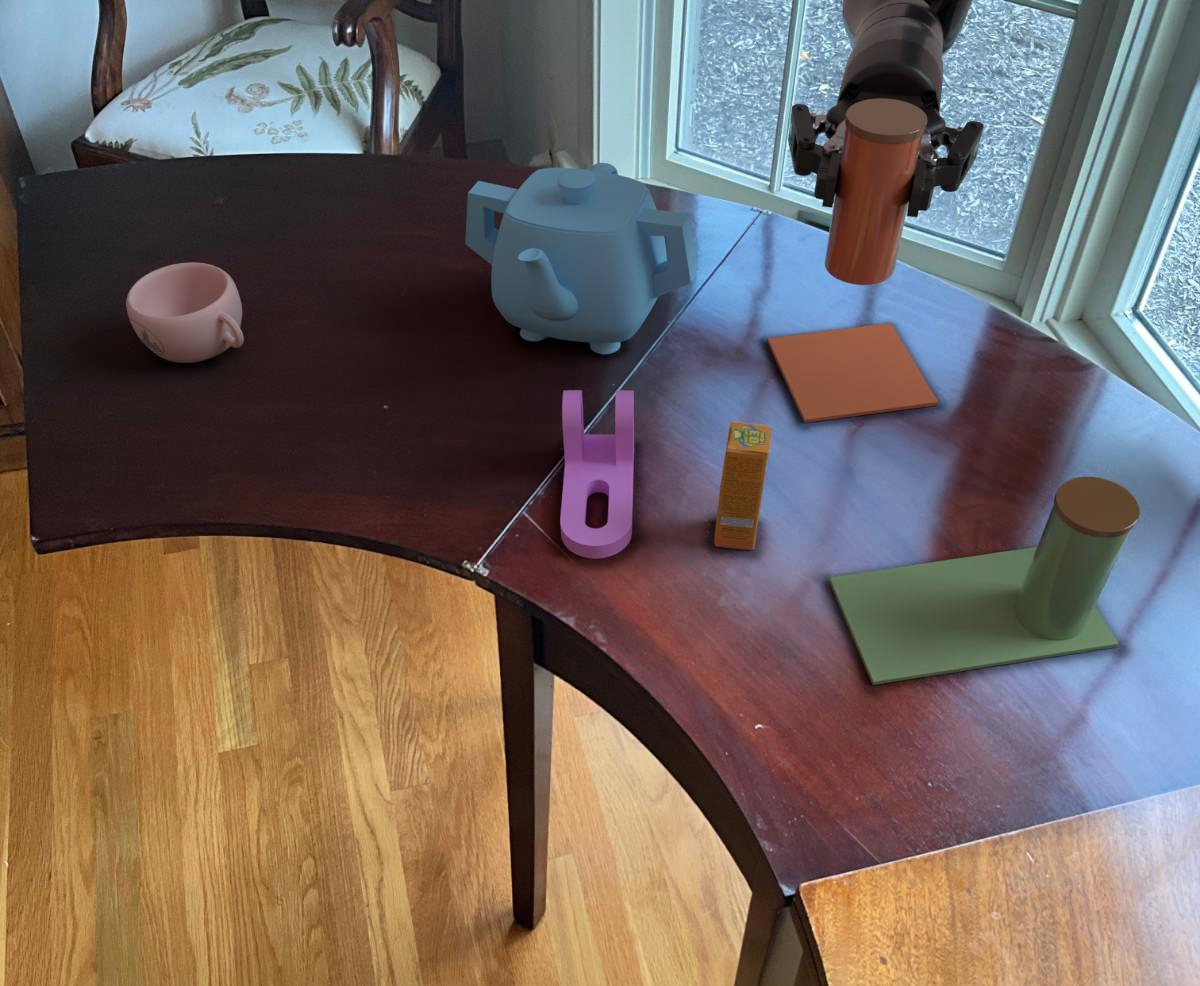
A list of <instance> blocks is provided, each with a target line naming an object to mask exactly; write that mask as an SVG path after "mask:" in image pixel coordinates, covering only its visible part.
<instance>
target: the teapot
mask: <svg viewBox="0 0 1200 986" xmlns="http://www.w3.org/2000/svg"><path fill="white" fill-rule="evenodd" d="M466 205H467V206H466V207H467V208H466V224H465V237H464V238H465V240H464V244H465V245H466V246H467V247H468V248H470V249H471V250H472V251H473V252H474V253H476V254H477V255H478V256H480V257H481V258H482V259H484V261H486V262H487V263H488V264H490V265H491V279H490V281H491V282H490V285H491V287H490V288H491V297H492V301H493V303H494V306H495V307H496V309H497V310H498V312H499V313H500V315H501V316H502V317H503V318H504V319H505V321H506V322H507V323H509V324H511V325H512V326H514V327H516V328H519V329H520V331H519V335H520V337H521V338H522V339H524V340H525V341H529V342H540V341H543V340H544V339H547V338H552V339H558V340H563V341H571V342H580V343H589V348H590V350H591V351H593V352H594V353H596V354H600V355H610V354H613V353H616V352H618V351H619V350H620V348H621V343H622V342H625V341H628V340H629V339H631V338H632V337H634V336H635V334H636V333H637V332H638V331H639V329H640V328H641V327H642V325H643V323H644V322H645V321H646V319H647V317H648V316H649V315H650V313H651V311H652V309H653V307H654V306H655V304H656V302H657V300H658V298H659V297H661V296H663V295H666V294H668V293H671V292H673V291H676V290H678V289H681V288H682V287H685V286H688V285H689V284H691V283H692V282H693V280H694V278H695V277H696V275H697V273H698V271H699V265H698V259H697V253H696V245H695V239H694V232H693V225H692V217H691V214H690V213H686V212H679V211H678V212H677V211H670V210H662V209H657V207H656V204H655V202H654V199H653V197H652V194H651V192H650V190H649V188H648V186H647V185H646V184H645V183H643V182H642V181H640V180H637V179H635V178H631V177H628V176H624V175H620V174H619V173H618V169H617V168H616V167H615V166H614V165H613V164H611V163H608V162H597V163H595V164H593V165H592V166H591V167H590V168H589V169H584V168H573V167H544V168H540V169H537V170H536V171H534V172H533V173H532V174H531V175H529V176H528V177H527V179H526V180H525V181H524V182H523V183H522V184H521V185H520V187H519V188H512V187H511V186H510V187H509V186H505V185H501V184H494V183H490V182H486V181H481V180H478V181H477V182H476V183H475V184H474V185H473V186H472V188H471V189H469V191H468V192H467V204H466ZM495 212H497V213H501V214H503V215H502V218H501V221H500V224H499V225H500V226H499V228H497V227H496V226H495ZM665 237H666V239H665Z"/></svg>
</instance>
